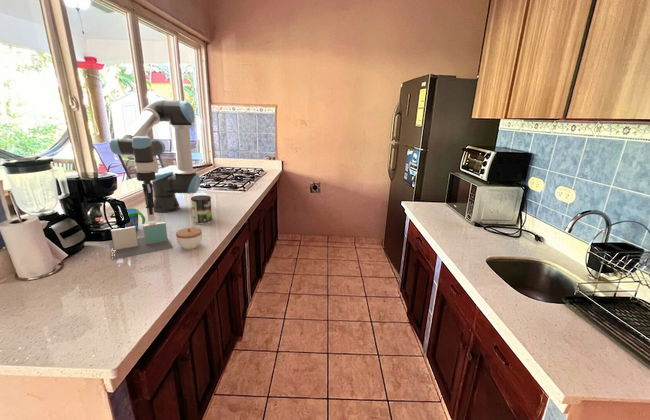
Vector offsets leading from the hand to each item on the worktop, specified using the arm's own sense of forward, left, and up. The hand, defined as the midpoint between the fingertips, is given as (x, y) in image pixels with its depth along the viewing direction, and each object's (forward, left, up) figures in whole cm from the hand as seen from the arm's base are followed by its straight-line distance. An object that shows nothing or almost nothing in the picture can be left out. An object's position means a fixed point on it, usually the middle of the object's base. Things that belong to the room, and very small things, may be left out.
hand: (151, 220), depth 145 cm
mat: (+9, -6, -9) cm, 14 cm away
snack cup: (-16, -9, -9) cm, 21 cm away
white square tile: (+8, -12, -8) cm, 16 cm away
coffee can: (-12, +26, -9) cm, 30 cm away
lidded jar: (+21, +12, -9) cm, 26 cm away
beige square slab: (+8, 0, -8) cm, 11 cm away
